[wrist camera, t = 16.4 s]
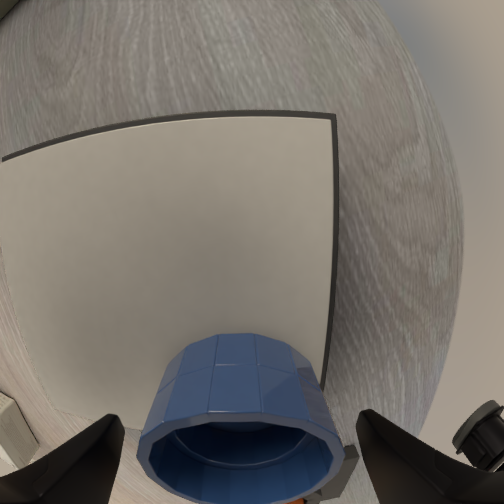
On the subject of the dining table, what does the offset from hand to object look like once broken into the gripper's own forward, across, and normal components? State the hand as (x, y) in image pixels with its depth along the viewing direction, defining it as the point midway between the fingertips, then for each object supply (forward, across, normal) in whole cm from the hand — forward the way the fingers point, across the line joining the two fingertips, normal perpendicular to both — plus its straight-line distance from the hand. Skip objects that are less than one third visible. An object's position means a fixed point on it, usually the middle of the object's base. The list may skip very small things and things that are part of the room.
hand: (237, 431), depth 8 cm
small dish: (+2, 0, 0) cm, 3 cm away
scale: (+6, +4, -4) cm, 8 cm away
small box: (+6, +26, +12) cm, 29 cm away
